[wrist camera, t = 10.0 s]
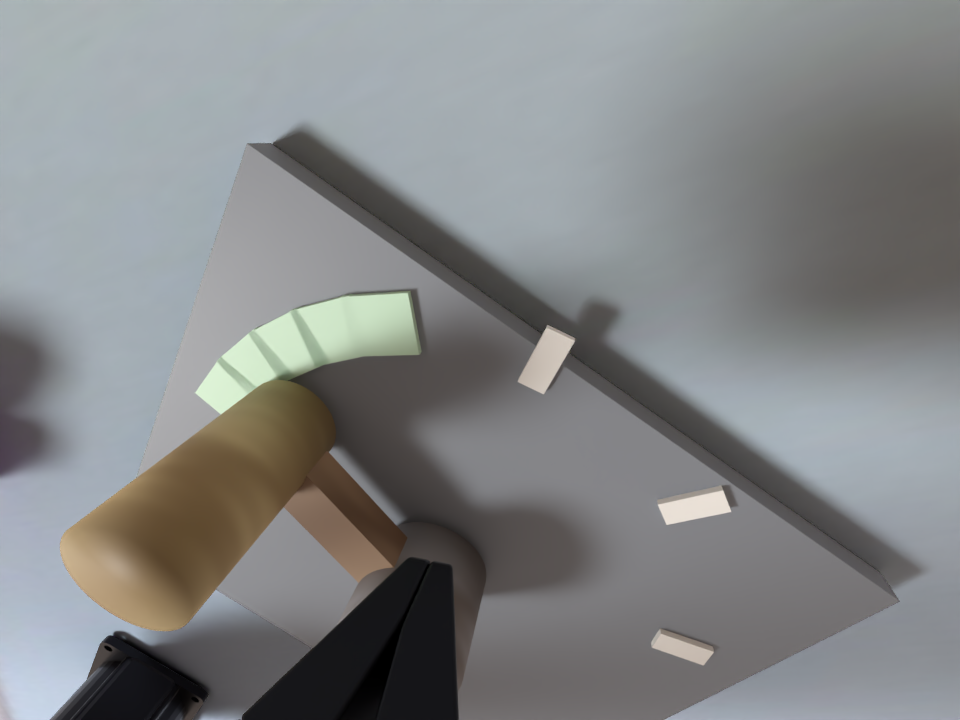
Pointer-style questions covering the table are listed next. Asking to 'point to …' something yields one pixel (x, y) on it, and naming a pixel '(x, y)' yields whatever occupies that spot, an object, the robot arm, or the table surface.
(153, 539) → the peg lever
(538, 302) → the table surface
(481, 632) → the dial board
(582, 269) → the table surface
